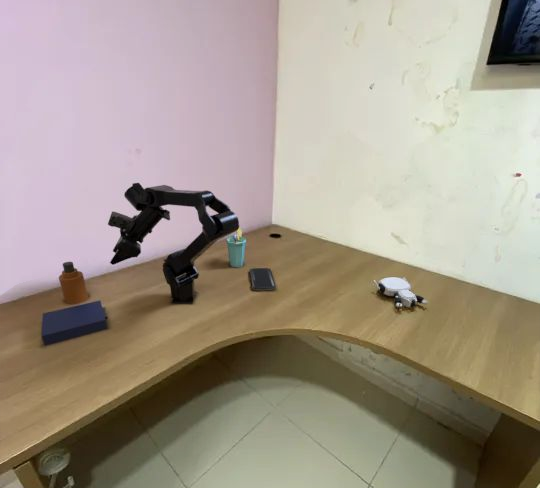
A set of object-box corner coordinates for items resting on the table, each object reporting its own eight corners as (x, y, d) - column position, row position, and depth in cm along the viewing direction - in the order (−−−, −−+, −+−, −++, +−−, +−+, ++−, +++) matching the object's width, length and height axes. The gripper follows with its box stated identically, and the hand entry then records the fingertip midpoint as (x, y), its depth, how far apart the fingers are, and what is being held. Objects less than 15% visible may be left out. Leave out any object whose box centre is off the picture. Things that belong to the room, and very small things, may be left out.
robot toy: (428, 310, 100) (400, 285, 112) (432, 299, 98) (403, 274, 110) (394, 314, 97) (370, 288, 110) (398, 303, 95) (373, 277, 107)
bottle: (91, 293, 99) (83, 259, 94) (81, 303, 94) (72, 268, 89) (71, 292, 99) (62, 258, 94) (60, 303, 93) (50, 267, 88)
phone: (269, 268, 119) (275, 287, 105) (269, 270, 119) (275, 290, 106) (249, 268, 118) (252, 287, 104) (249, 271, 118) (252, 290, 105)
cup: (245, 273, 116) (245, 236, 110) (224, 273, 116) (223, 235, 110) (246, 258, 129) (247, 224, 122) (228, 257, 129) (227, 223, 122)
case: (104, 308, 92) (102, 299, 91) (109, 328, 84) (107, 319, 82) (45, 322, 85) (42, 313, 84) (44, 345, 77) (41, 335, 75)
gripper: (124, 195, 97) (92, 231, 99) (120, 211, 82) (82, 254, 83) (154, 218, 103) (123, 251, 104) (155, 237, 88) (119, 276, 89)
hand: (112, 257), depth 95 cm, fingers open, 9 cm apart
